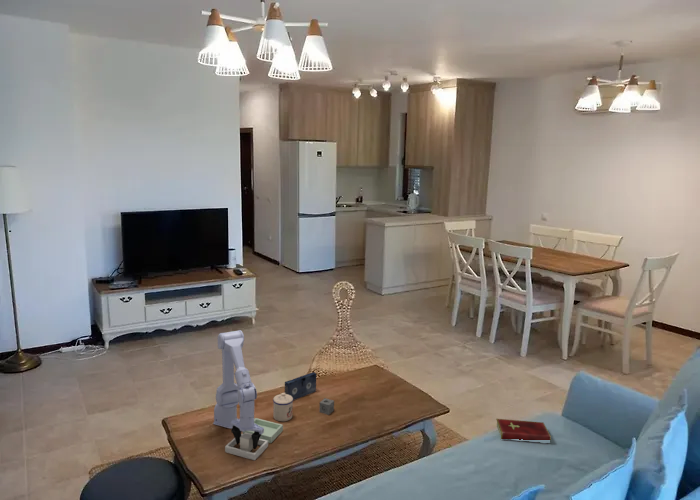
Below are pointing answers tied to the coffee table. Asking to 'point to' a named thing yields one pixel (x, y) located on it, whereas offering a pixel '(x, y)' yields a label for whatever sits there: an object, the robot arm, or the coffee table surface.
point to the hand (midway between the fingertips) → (246, 445)
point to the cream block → (246, 442)
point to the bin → (246, 454)
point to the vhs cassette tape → (301, 386)
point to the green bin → (268, 429)
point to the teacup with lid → (283, 407)
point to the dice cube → (326, 406)
